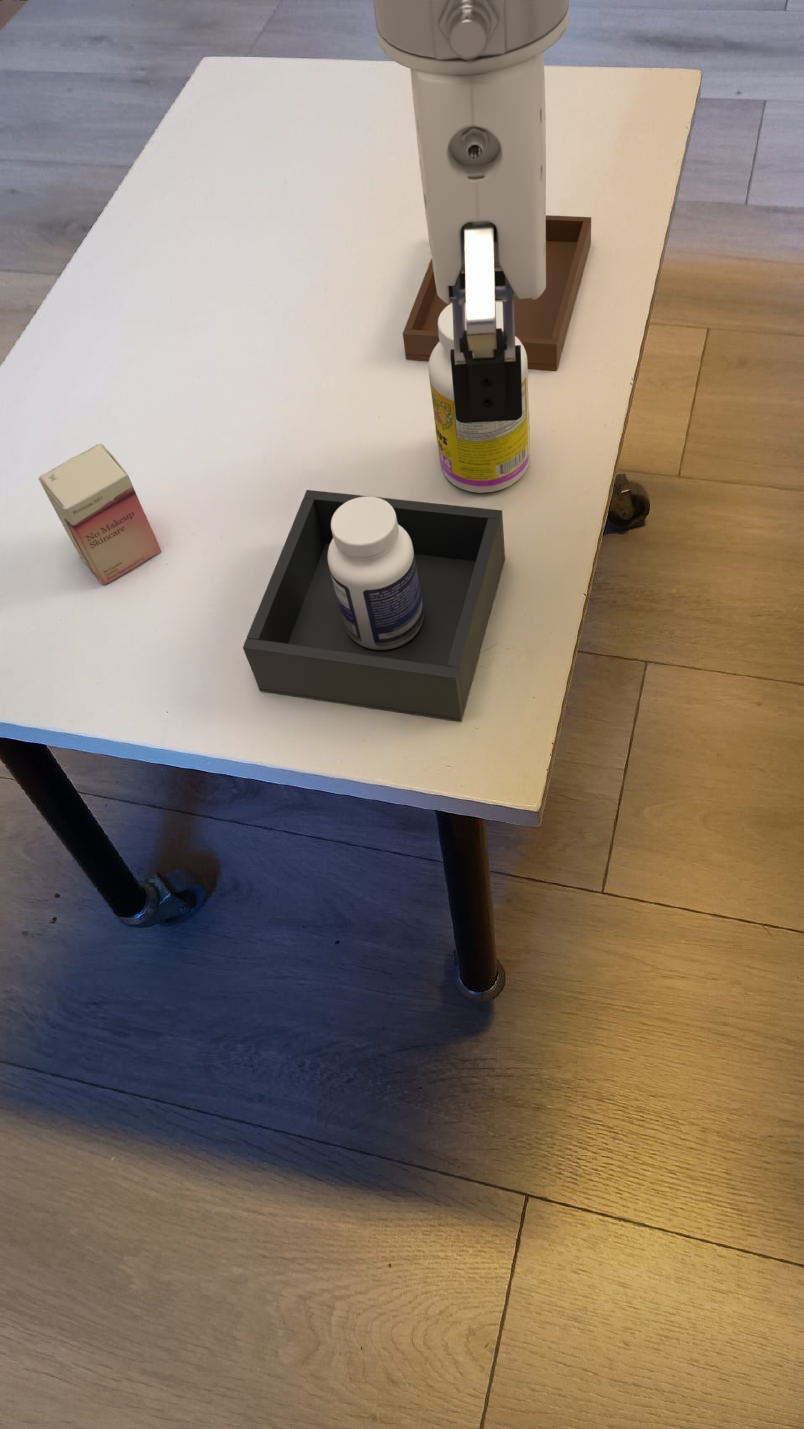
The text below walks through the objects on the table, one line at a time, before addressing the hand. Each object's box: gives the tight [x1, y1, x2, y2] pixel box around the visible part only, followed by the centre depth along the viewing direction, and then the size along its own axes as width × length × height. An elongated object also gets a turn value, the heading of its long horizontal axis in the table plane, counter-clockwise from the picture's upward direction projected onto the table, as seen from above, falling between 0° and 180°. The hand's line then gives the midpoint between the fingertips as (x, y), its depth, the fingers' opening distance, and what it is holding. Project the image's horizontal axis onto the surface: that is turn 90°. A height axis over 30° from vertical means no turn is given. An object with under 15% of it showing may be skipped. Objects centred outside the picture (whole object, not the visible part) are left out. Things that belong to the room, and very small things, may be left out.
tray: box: [402, 214, 592, 371], centre depth 91 cm, size 16×12×2 cm
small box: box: [38, 443, 162, 585], centre depth 78 cm, size 5×4×8 cm
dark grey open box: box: [242, 489, 506, 723], centre depth 73 cm, size 14×14×5 cm
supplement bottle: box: [427, 302, 531, 494], centre depth 76 cm, size 7×7×13 cm
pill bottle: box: [328, 496, 424, 650], centre depth 70 cm, size 5×5×10 cm
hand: (489, 351), depth 57 cm, fingers open, 9 cm apart
